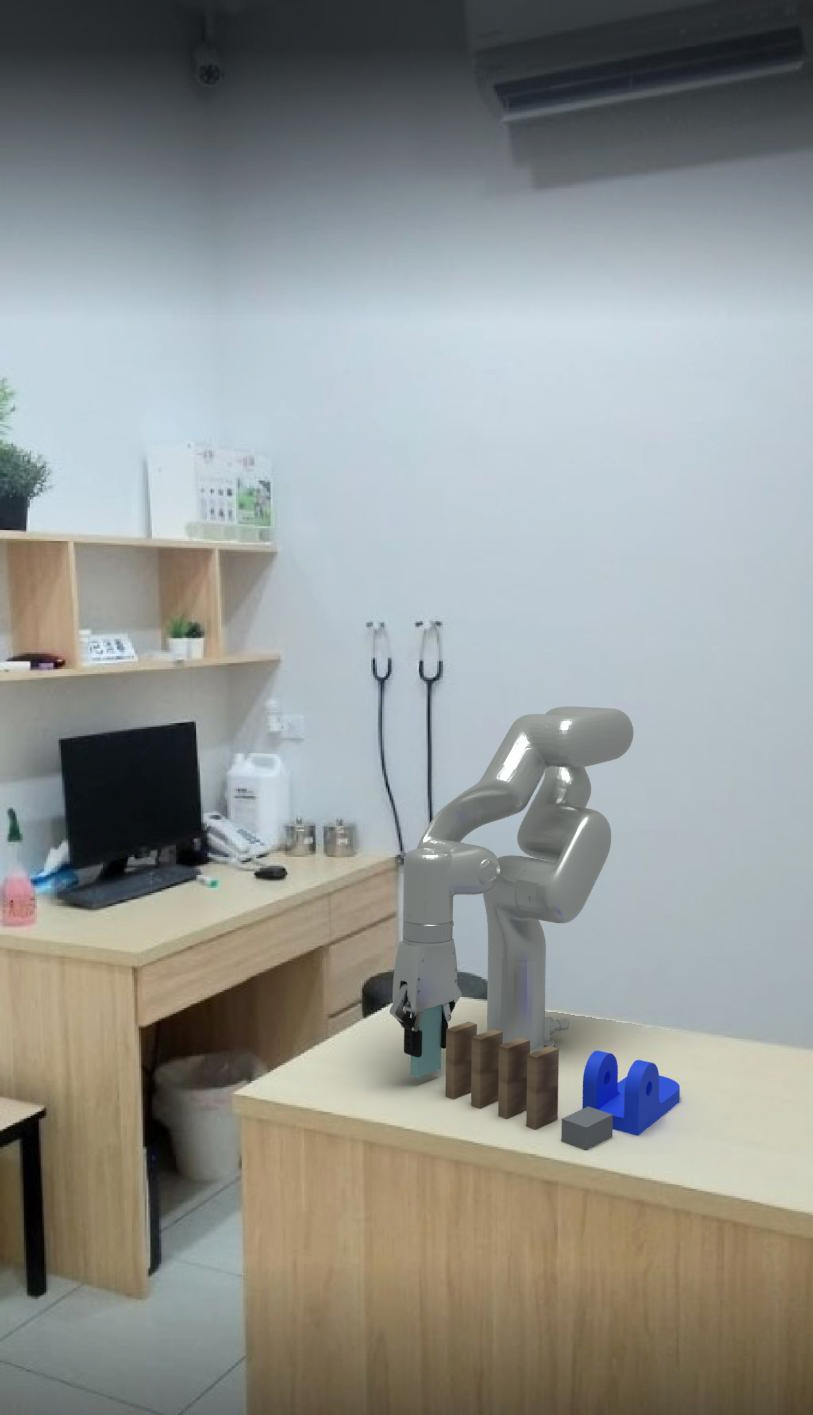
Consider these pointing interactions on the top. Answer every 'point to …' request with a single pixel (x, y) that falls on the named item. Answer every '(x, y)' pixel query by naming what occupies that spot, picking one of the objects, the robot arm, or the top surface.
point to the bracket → (628, 1092)
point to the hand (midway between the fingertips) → (425, 1049)
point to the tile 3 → (485, 1068)
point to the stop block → (587, 1128)
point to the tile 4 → (513, 1077)
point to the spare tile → (428, 1043)
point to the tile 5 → (542, 1087)
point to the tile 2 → (459, 1059)
